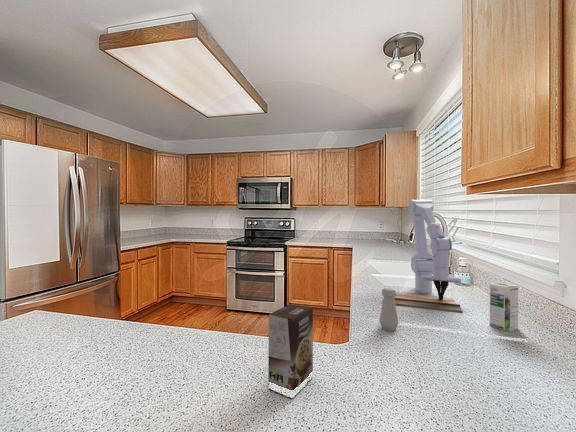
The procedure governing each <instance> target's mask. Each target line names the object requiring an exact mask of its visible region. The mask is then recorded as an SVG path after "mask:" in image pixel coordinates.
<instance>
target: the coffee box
mask: <svg viewBox="0 0 576 432" xmlns="http://www.w3.org/2000/svg"><path fill="white" fill-rule="evenodd" d="M313 312H314V307H311V306H305V305H299V304H293V303H289V304H287V305H285V306H283V307H281V308H278V309H276V310H275V311H273V312H271V313H268V352H267V353H268V365H267V374H268V375H267V377H268V379H267V381H269V382H271V383H274V384H276V385H278V386H281V387H284V388H287V389H289V390H294V389H295V388H296V387H298V386H299V385H300V384H301V383H302V382H303V381H304V380H305V379H306V378H307V377H308V376H309V374H310V373H311V372H312V371H313V372H314V368H313V367H314V363H313V362H314V360H313V359H314V356H313V355H314V345H313V344H314V342H313V341H314V339H313V338H314V334H313V333H314V329H313V328H314V313H313Z"/></svg>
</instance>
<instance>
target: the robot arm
mask: <svg viewBox="0 0 576 432" xmlns="http://www.w3.org/2000/svg"><path fill="white" fill-rule="evenodd" d="M434 206H435V205H434V202H433V200H432V199H411V200H410V201H409V202H408V206H407V207H408V208H407V209H408V214H409V218H410V219H412V222H413V223H412V225H413V232H414V241H415V249H416V253H415V254H413V255H412V257H411V258H410V260H411V261H410V269H411V270H412V273H414V275H415V276H414V280H415V281H414V291H415V292H418V293H422V294H432V293H433V284H434V287H435V289H436V291H437V295H438V296H437V297H439V299H440V300H443V297H445V296H444V295H445V293H446V290H447V288H448V287H449V283H451V284H452V283H453V284H462V278H461V277H455V276H449V273H450V272H449V270H450V269H449V267H450V266H449V265H450V263H449V260H450V259H449V256H450V254H449V252H450V251H451V250H452V247H453V245H452V240H451V238H450V237H449V236H447V235H446V234H445V233H444V231H443V229H442V227H441V224H440V223H437V221H436V219H435V216H434ZM425 224H426V226H427V227H426V226H425ZM426 231H427V233H426ZM427 234H428V237H429V240H430V246H429V247H430V249H431V253H429V249H428V241H427Z"/></svg>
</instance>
